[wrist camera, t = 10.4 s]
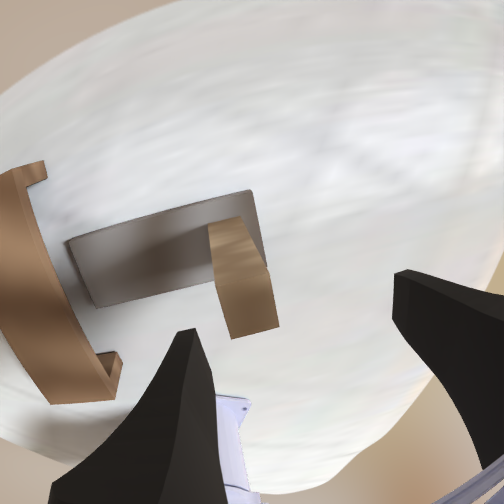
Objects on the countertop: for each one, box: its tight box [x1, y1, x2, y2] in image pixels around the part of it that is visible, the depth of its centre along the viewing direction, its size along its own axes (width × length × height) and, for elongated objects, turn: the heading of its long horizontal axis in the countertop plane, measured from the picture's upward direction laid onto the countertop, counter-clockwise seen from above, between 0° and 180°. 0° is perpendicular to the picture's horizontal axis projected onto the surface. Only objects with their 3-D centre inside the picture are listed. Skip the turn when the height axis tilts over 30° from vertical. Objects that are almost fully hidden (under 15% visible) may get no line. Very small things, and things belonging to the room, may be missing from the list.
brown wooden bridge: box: [0, 160, 123, 405], centre depth 17 cm, size 16×6×4 cm, turn 11°
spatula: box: [69, 190, 279, 339], centre depth 16 cm, size 12×5×9 cm, turn 101°
